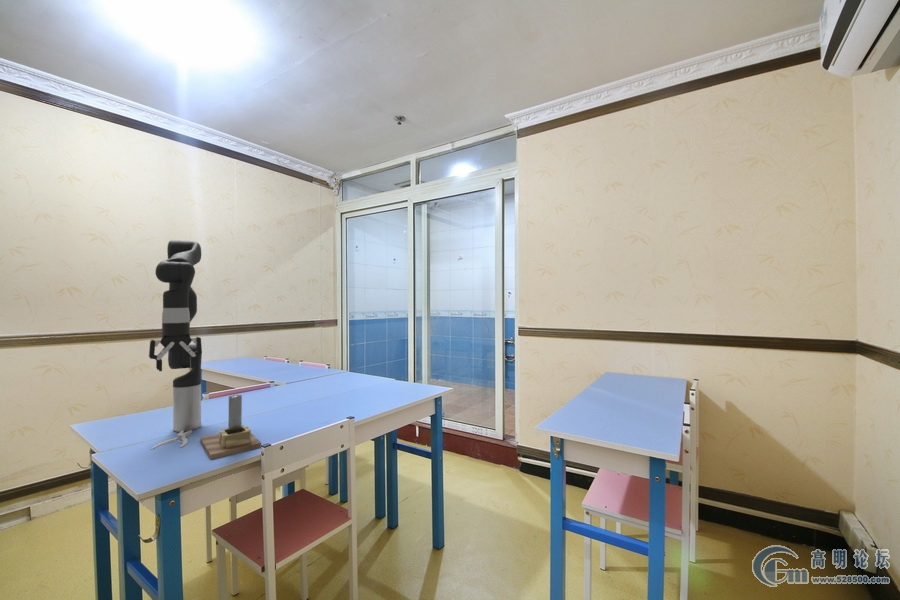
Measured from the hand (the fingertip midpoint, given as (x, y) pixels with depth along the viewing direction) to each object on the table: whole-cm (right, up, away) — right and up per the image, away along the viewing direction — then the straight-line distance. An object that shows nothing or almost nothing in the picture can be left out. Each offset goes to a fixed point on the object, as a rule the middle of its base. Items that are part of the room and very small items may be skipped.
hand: (176, 369), depth 126 cm
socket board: (+14, -28, +7) cm, 32 cm away
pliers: (-7, -29, +11) cm, 31 cm away
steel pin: (+17, -27, +6) cm, 32 cm away
